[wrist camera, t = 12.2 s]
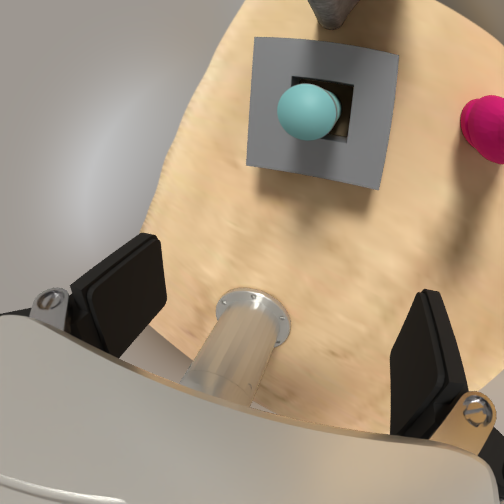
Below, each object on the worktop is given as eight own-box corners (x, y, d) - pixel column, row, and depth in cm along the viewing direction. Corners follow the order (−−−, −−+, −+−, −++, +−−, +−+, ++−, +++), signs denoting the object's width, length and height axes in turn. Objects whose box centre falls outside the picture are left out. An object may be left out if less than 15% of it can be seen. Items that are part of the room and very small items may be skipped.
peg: (340, 127, 30) (332, 145, 19) (304, 121, 31) (274, 136, 20) (344, 93, 28) (339, 88, 17) (307, 87, 29) (278, 80, 18)
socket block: (375, 177, 32) (378, 190, 27) (259, 156, 35) (246, 165, 31) (392, 61, 24) (399, 55, 20) (268, 44, 28) (254, 37, 24)
